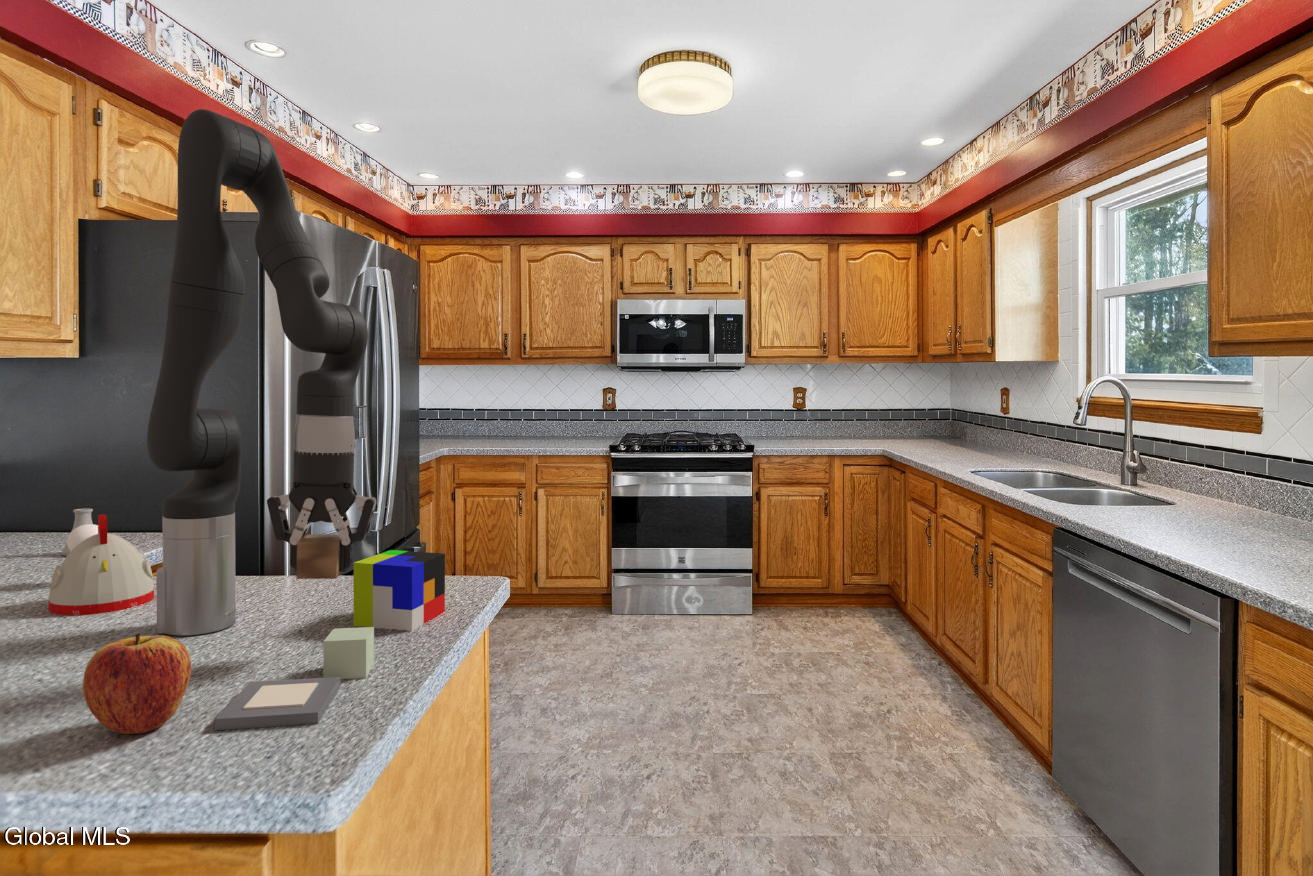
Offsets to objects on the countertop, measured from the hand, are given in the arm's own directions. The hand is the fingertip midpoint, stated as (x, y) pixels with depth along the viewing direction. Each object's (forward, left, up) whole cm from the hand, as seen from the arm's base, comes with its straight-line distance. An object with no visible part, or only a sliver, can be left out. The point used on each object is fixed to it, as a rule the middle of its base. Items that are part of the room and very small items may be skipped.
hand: (321, 570), depth 96 cm
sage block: (+5, -8, -12) cm, 15 cm away
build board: (0, -18, -11) cm, 21 cm away
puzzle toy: (+8, +14, -12) cm, 20 cm away
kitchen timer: (-42, +30, -12) cm, 53 cm away
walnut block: (0, 0, -1) cm, 1 cm away
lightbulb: (-51, +45, -12) cm, 69 cm away
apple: (-13, -21, -12) cm, 27 cm away
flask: (-67, +72, -12) cm, 99 cm away
